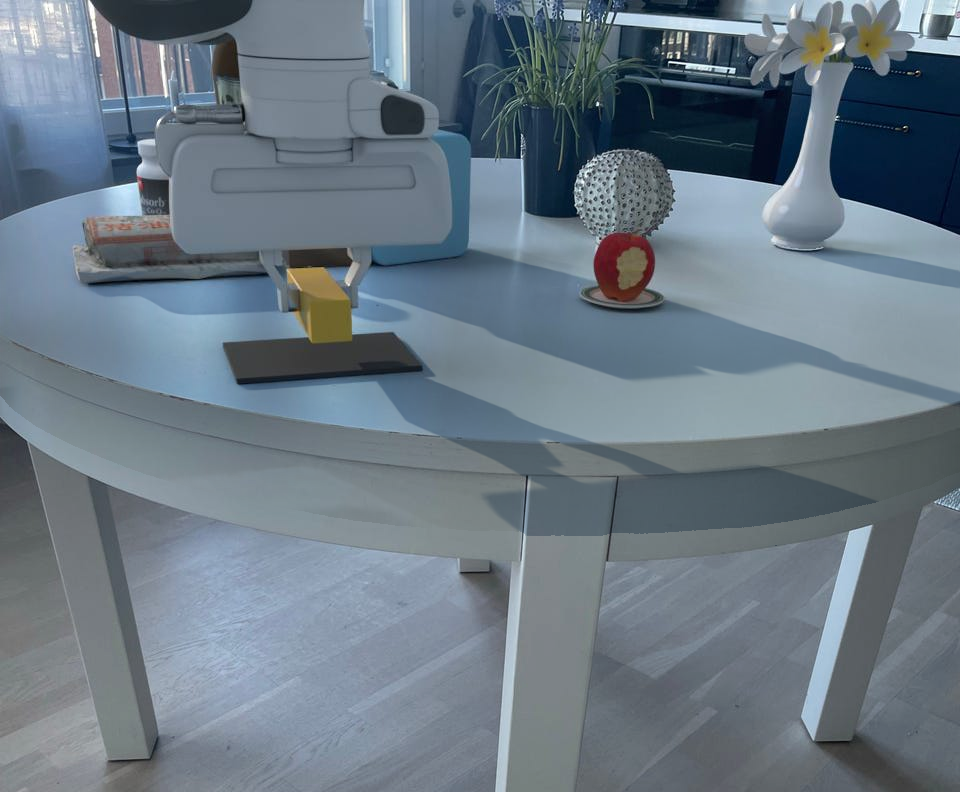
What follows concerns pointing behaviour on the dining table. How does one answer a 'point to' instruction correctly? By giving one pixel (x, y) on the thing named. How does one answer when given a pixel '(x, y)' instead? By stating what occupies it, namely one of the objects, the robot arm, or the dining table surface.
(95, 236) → the packaged product
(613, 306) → the apple
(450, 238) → the data package
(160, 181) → the pill bottle
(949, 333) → the dining table surface
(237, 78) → the olive oil
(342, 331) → the bar
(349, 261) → the tower
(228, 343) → the mat
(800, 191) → the flower vase
